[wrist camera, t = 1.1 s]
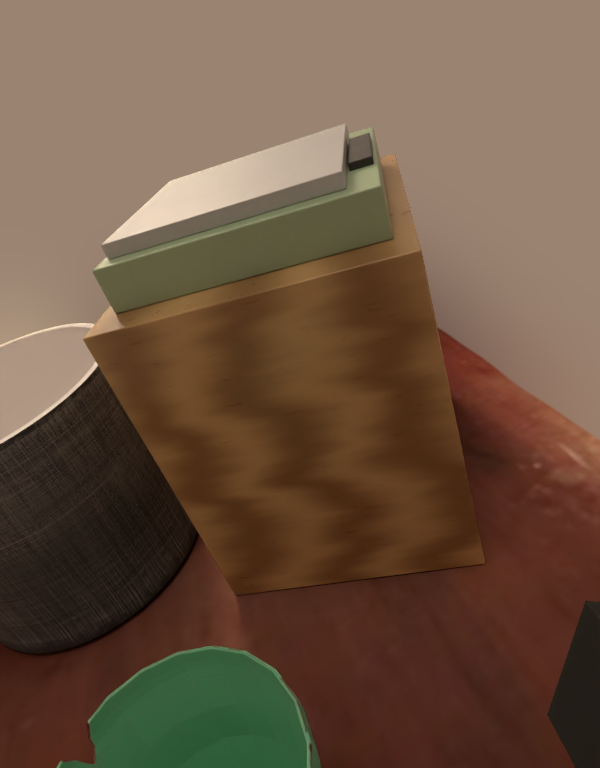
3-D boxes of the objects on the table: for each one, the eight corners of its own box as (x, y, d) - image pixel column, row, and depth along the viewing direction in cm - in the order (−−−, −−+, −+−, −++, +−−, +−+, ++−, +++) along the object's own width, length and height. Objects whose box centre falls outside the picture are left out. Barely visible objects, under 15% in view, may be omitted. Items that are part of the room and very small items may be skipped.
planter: (3, 532, 50) (-116, 395, 42) (182, 443, 53) (102, 299, 45) (-26, 707, 35) (-218, 548, 27) (226, 571, 38) (119, 390, 30)
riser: (444, 390, 47) (394, 153, 37) (485, 564, 33) (421, 249, 22) (270, 425, 51) (181, 219, 41) (235, 595, 36) (81, 339, 26)
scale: (381, 164, 36) (369, 112, 34) (393, 239, 24) (377, 165, 22) (186, 224, 39) (167, 179, 37) (115, 314, 27) (82, 255, 26)
